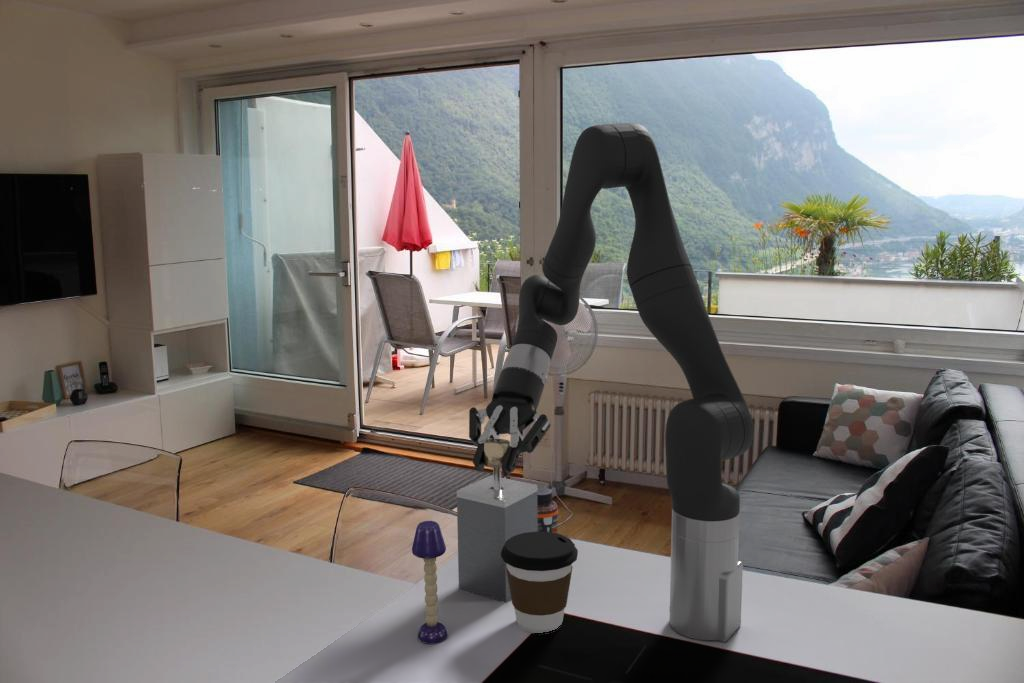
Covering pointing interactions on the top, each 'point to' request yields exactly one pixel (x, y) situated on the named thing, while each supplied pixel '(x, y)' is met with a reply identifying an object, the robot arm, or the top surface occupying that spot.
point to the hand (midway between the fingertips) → (491, 470)
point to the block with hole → (491, 532)
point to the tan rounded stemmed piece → (495, 458)
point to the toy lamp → (430, 578)
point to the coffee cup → (539, 578)
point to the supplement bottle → (547, 511)
